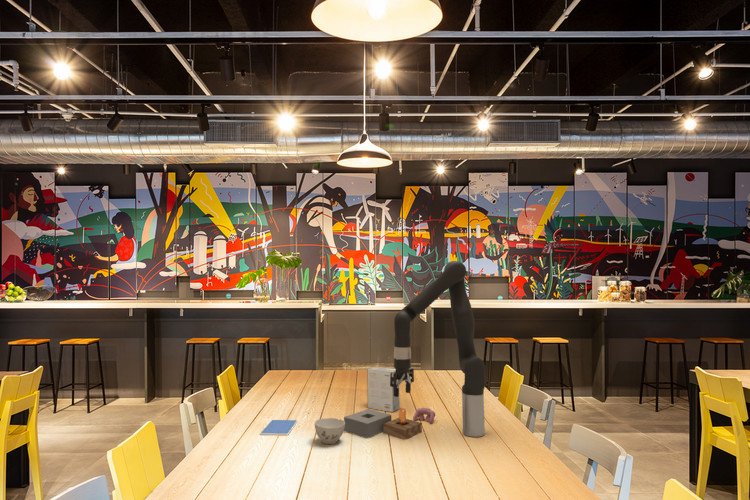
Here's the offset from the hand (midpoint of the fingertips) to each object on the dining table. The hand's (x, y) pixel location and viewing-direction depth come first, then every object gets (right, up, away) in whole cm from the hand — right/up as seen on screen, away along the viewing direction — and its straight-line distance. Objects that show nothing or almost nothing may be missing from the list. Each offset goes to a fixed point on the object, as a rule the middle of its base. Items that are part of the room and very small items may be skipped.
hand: (402, 394), depth 193 cm
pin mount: (0, -16, -1) cm, 16 cm away
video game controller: (+11, -18, +15) cm, 26 cm away
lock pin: (0, -16, -1) cm, 16 cm away
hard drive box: (-7, -19, +35) cm, 40 cm away
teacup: (-30, -16, -10) cm, 36 cm away
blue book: (-55, -18, +6) cm, 58 cm away
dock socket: (-15, -17, +3) cm, 23 cm away
